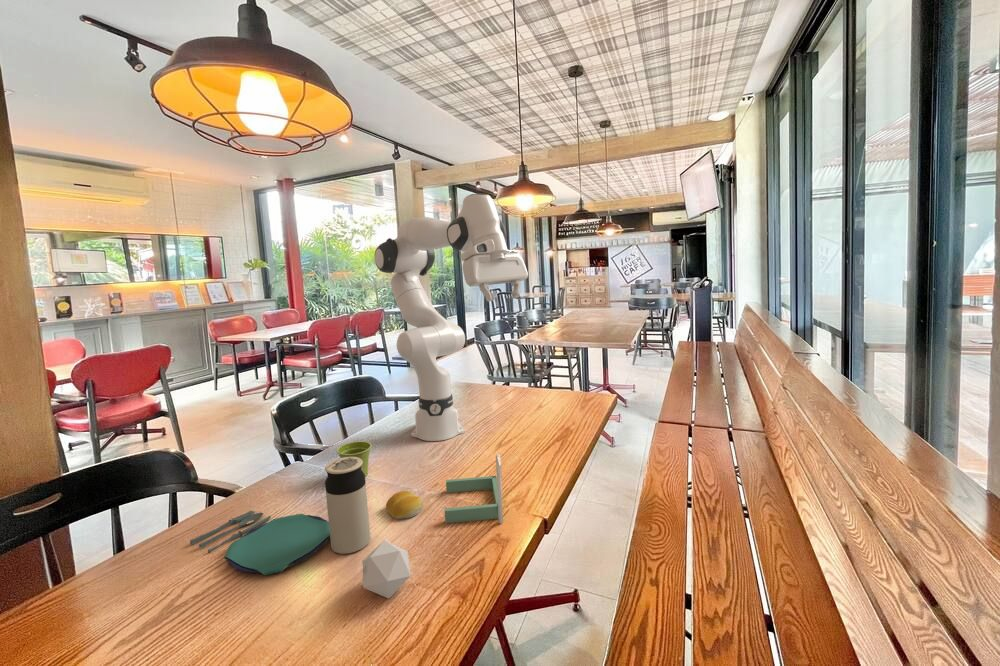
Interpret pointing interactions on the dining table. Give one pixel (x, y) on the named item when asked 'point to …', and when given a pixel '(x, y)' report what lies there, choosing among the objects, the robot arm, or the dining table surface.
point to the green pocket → (480, 510)
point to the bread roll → (404, 505)
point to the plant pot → (356, 452)
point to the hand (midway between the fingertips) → (504, 298)
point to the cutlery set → (271, 541)
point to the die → (386, 569)
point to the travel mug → (347, 505)
